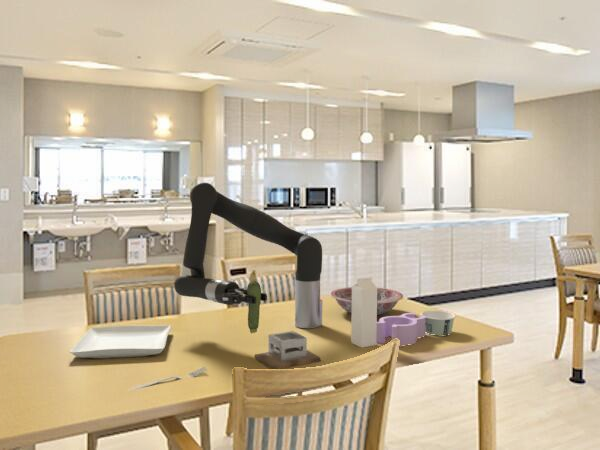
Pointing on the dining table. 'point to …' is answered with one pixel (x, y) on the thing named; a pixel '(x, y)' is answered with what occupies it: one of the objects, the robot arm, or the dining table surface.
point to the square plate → (122, 341)
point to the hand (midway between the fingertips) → (260, 299)
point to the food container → (438, 322)
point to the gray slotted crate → (287, 346)
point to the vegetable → (253, 309)
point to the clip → (401, 328)
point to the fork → (169, 378)
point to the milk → (364, 313)
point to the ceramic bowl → (384, 299)
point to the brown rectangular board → (276, 364)
